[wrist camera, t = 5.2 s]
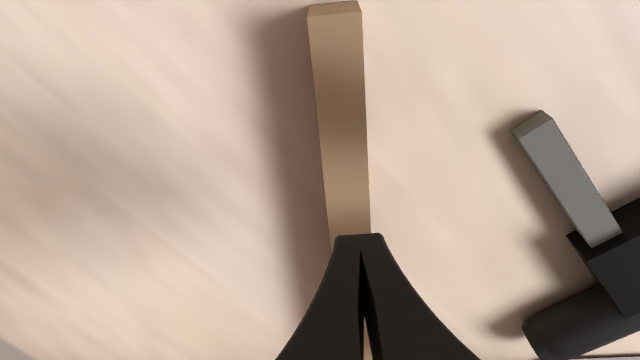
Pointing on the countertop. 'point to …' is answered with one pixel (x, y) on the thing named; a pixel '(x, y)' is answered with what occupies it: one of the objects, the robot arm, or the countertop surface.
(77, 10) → the countertop surface
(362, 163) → the bar
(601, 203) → the door handle
